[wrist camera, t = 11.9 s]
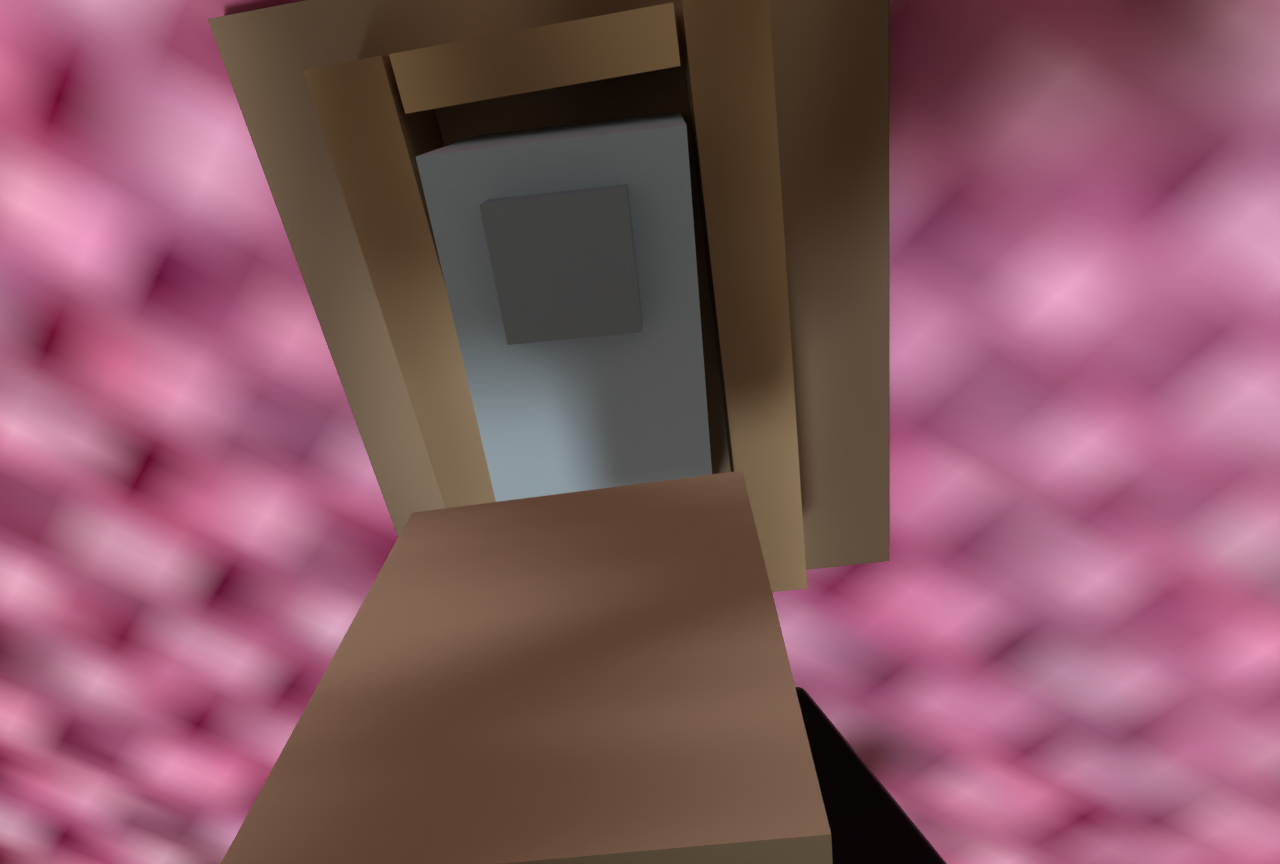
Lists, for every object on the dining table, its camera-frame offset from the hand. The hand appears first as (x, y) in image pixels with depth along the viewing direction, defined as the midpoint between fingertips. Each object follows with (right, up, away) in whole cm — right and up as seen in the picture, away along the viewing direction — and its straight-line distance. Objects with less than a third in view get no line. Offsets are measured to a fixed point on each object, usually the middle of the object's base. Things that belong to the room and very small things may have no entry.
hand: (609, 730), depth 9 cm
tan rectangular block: (0, +1, +1) cm, 1 cm away
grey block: (0, +6, +9) cm, 11 cm away
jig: (-1, +6, +10) cm, 12 cm away
